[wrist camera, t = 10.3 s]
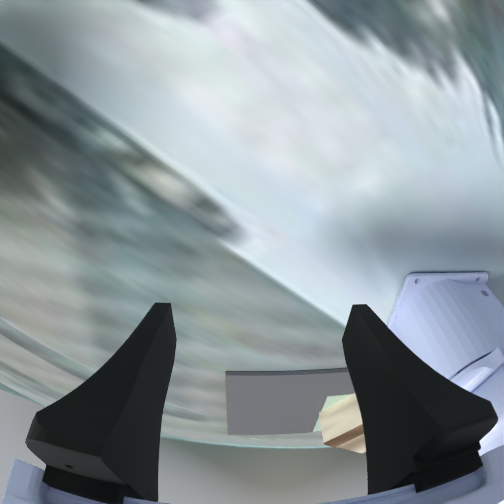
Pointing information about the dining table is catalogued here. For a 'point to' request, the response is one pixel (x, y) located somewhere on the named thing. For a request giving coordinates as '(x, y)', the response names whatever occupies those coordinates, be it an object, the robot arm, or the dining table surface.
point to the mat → (282, 399)
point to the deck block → (343, 425)
